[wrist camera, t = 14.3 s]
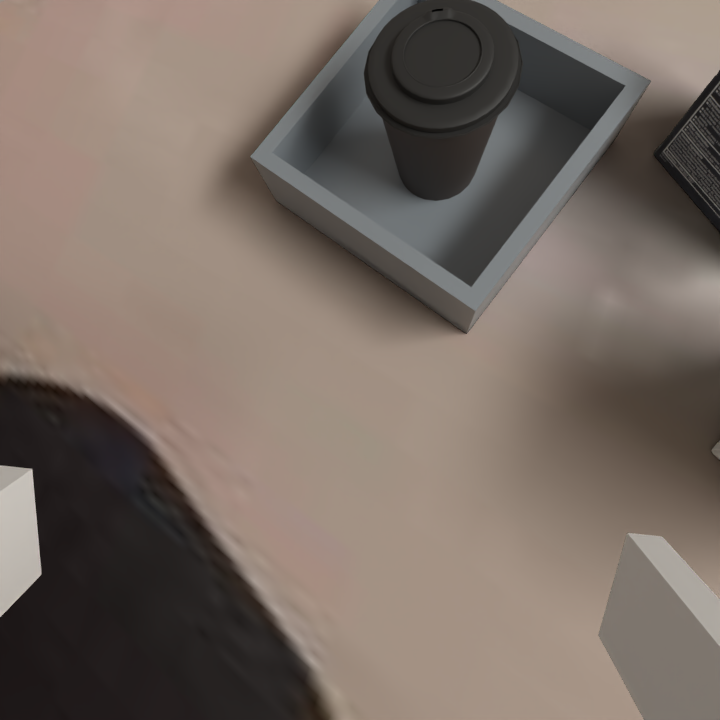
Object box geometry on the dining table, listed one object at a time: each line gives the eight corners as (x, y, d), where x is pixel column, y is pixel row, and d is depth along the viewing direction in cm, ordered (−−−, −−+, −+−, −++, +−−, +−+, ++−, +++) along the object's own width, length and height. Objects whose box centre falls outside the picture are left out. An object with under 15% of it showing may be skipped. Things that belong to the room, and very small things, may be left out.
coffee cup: (451, 91, 35) (461, -49, 25) (522, 174, 33) (563, 58, 23) (356, 156, 35) (330, 41, 25) (422, 242, 33) (421, 155, 23)
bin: (275, 200, 36) (250, 156, 31) (415, 28, 37) (414, -43, 32) (466, 333, 32) (475, 311, 27) (614, 139, 34) (651, 81, 28)
